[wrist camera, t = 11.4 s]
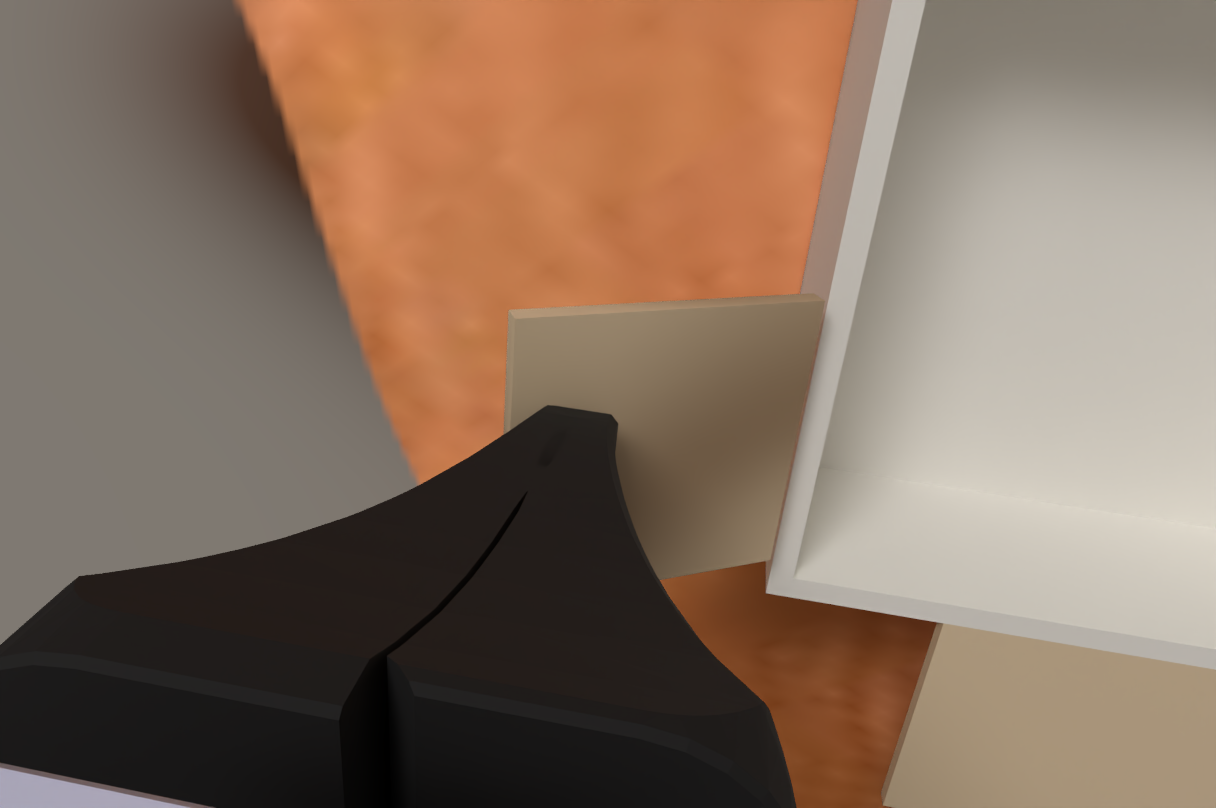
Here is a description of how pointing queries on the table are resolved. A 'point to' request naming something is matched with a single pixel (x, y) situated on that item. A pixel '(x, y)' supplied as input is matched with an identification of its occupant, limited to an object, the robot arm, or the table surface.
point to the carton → (1022, 393)
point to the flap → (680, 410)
